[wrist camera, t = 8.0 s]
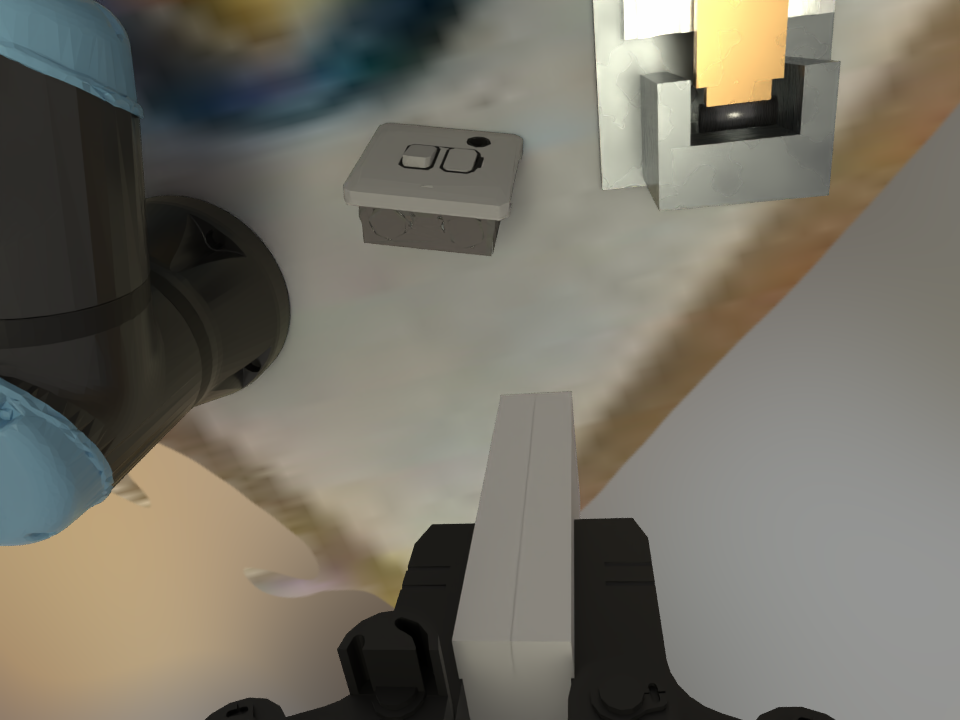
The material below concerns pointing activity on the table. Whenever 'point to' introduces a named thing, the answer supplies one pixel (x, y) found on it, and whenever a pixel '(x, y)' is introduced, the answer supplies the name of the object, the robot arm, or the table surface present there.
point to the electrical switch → (434, 187)
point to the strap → (738, 61)
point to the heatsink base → (673, 102)
